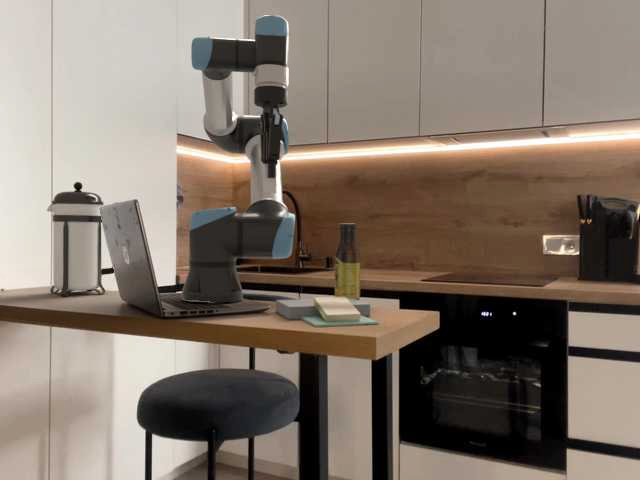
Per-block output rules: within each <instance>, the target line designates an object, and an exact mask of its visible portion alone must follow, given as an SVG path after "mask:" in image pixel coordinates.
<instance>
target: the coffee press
mask: <svg viewBox="0 0 640 480" xmlns="http://www.w3.org/2000/svg"><path fill="white" fill-rule="evenodd" d="M83 186H84V185H83V184H82V182H79V181H76V182H74V184H73V188H74V189H75V190H74V191H72V190H71V191H61V192H58V193H57V194H55V196H54V198H53V200H51V204H50V205H49V206H48V207H47V209H46V212H52V213H53V214H52V222H53V230H52V231H53V250H52V251H53V255H52V256H53V257H52V259H53V261H52V263H53V265H52V266H53V271H52V272H53V276H52V277H53V285H52V287H51V288H50V291H49V292H50V293H51V294H57V293H58V292H60V296H61V297H63V298H64V297H69V296H70V294H71V292H75V291H76V292H77V291H87V292H93V291H95V292H96V293H97V294H98V295H104V294H105V293H106V289H105V288H104V286H103V285H102V282H103V281H102V279H103V278H102V276H105V275H112V274H115V273H114V269H113V267H114V266H112V267H109V268H108V267H107V268H102V267H103V266H102V265H103V252H102V251H103V222H102V220H101V215H100V210H99V208H100V207H102V208H103V206H104V204H105V203H104V201H103V200H102V198H101V196H100V195H99V194H97V193H94V192H89V191H82V189H83ZM99 288H100V290H102V292H100V290H99ZM55 289H56V290H55ZM54 290H55V291H54ZM60 290H61V291H60Z"/></svg>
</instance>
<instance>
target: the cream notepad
mask: <svg viewBox="0 0 640 480" xmlns="http://www.w3.org/2000/svg"><path fill="white" fill-rule="evenodd" d="M313 299H314V302H313V304H314V306H315V307H316V308H317V310H318V311H319V313H320V314H321V315H322V317H323V318H324V319H325V321H326V322H342V321H360V316H361V314H360V312H359V311H358V310H357V309H356V308H355V307H354V306H353V305H352V303H351V302H350V301H349V300H348V299H347V298H346V297H335V296H321V297H319V296H317V297H316V296H315V297H314V296H313Z"/></svg>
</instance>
